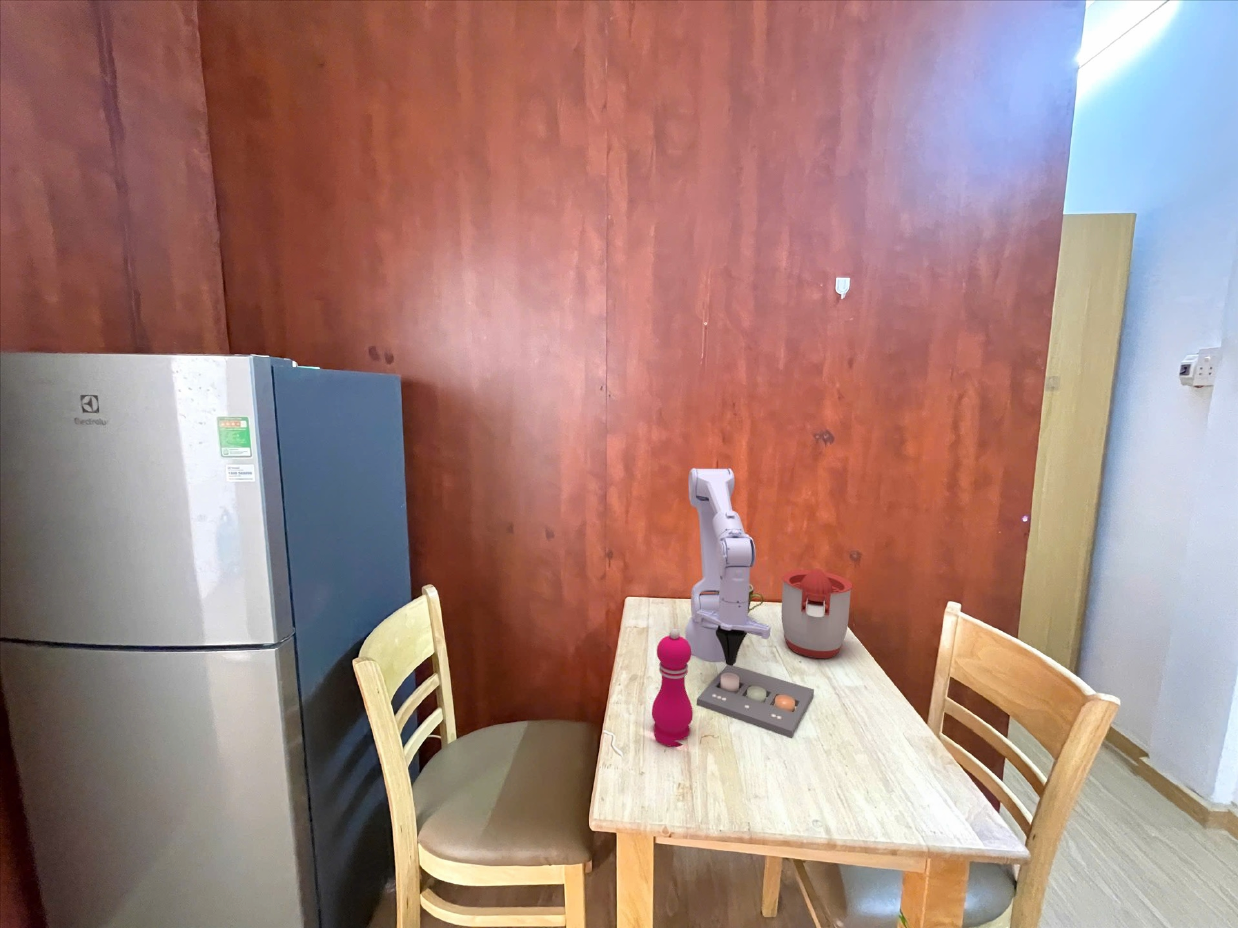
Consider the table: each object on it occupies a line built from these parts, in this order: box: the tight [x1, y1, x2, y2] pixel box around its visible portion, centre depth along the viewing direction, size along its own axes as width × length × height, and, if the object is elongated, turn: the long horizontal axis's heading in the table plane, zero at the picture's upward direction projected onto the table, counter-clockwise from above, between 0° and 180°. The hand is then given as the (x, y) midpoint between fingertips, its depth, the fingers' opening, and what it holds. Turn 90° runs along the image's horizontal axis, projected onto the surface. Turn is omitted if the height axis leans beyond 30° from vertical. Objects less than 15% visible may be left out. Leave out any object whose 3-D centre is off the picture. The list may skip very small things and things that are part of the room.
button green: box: [746, 686, 767, 703], centre depth 106 cm, size 4×4×3 cm
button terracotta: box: [774, 695, 796, 712], centre depth 103 cm, size 4×4×3 cm
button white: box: [720, 673, 740, 694], centre depth 108 cm, size 4×4×3 cm
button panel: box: [696, 664, 815, 739], centre depth 106 cm, size 18×16×3 cm
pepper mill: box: [651, 628, 694, 748], centre depth 95 cm, size 7×7×20 cm
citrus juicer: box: [781, 567, 853, 659], centre depth 128 cm, size 16×17×20 cm
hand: (730, 663), depth 108 cm, fingers closed
